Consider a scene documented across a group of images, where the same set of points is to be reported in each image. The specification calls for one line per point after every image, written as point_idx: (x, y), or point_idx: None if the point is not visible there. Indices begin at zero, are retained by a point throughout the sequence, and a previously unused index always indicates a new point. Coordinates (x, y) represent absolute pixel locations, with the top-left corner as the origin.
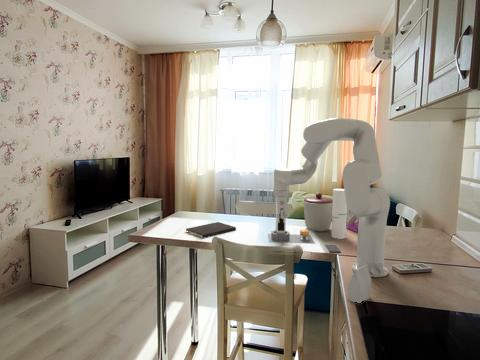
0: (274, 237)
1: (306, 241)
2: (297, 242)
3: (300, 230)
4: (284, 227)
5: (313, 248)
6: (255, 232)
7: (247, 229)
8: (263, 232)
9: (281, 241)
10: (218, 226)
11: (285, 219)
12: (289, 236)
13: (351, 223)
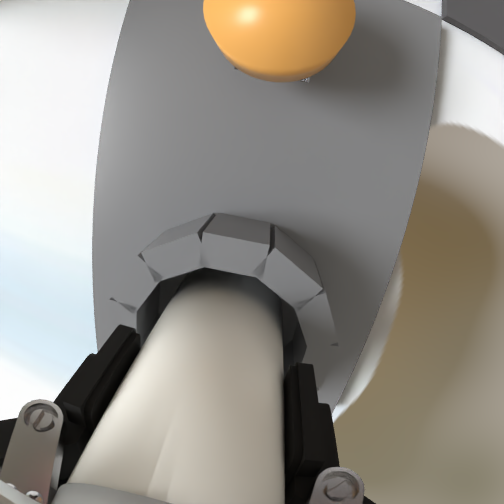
0: None
1: (383, 62)
2: (406, 176)
3: (244, 55)
4: (268, 373)
5: (498, 83)
6: (51, 395)
7: (16, 404)
8: (36, 353)
9: (339, 328)
10: None
11: (232, 481)
12: (276, 235)
13: None
